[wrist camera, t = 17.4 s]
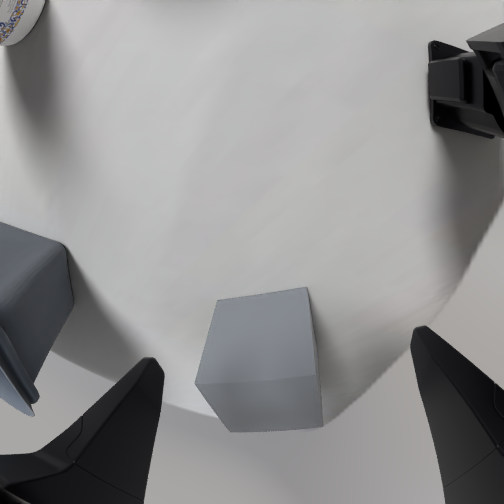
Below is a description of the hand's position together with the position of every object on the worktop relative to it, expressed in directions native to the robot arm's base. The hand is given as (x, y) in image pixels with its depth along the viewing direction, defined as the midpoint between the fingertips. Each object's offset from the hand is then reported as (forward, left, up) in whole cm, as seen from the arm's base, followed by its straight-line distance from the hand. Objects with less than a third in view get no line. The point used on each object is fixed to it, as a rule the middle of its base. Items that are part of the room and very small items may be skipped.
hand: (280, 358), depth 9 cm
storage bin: (+29, +5, -13) cm, 32 cm away
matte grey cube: (+1, +11, -13) cm, 17 cm away
